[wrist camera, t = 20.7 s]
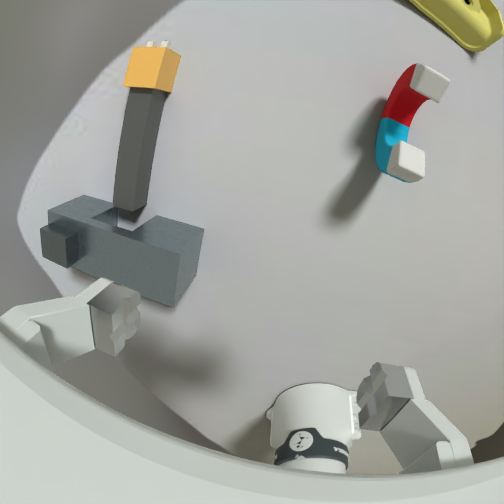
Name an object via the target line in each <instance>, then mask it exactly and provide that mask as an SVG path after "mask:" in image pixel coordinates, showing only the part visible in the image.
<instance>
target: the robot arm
mask: <svg viewBox="0 0 504 504" xmlns="http://www.w3.org/2000/svg"><path fill="white" fill-rule="evenodd" d="M140 303H141V295H140V294H139V292H137V291H135V290H132V289H130V288H128V287H125V286H123V285H121V284H118V283H116V282H114V281H111V280H109V279H107V278H99V279H98V280H97V281H95V282H94V283H93V284H91V285H90V286H89V287H87V288H86V289H85V290H84V291H82V292H81V293H80V294H78V295H77V296H76V297H72V296H69V297H63V298H58V299H53V300H47V301H42V302H36V303H31V304H25V305H20V306H15V307H13V308H12V309H10V310H9V311H8V312H6V313H5V314H4V315H2V316H1V317H0V504H504V457H501V458H497V459H494V460H490V461H486V462H482V463H478V464H474V462H473V458H472V455H471V451H470V448H469V445H468V442H467V439H466V438H465V437H464V435H463V434H462V433H461V432H460V431H459V430H458V429H457V428H456V427H455V426H454V425H453V424H452V423H451V422H450V421H449V420H448V419H447V418H446V417H445V416H444V415H443V414H442V413H441V412H440V411H439V410H438V409H437V408H436V407H435V406H434V405H433V404H432V403H431V402H430V401H428V400H425V397H424V394H423V391H422V388H421V385H420V382H419V379H418V377H417V374H416V371H415V370H414V369H413V368H411V367H404V366H395V365H390V364H384V363H379V362H376V363H375V364H374V365H373V366H372V368H371V369H370V376H368V377H366V378H364V379H363V381H362V382H361V384H360V385H359V388H358V391H348V390H345V389H342V388H340V387H338V386H334V385H330V384H323V383H312V384H304V385H299V386H296V387H293V388H290V389H288V390H286V391H285V392H283V393H282V394H281V395H280V396H279V397H278V398H277V399H276V402H275V404H274V406H273V407H272V408H270V409H269V410H268V411H267V412H266V417H267V418H268V419H269V420H270V421H271V436H270V445H271V446H272V447H273V448H274V449H275V450H276V452H275V457H274V465H272V464H267V463H262V462H258V461H253V460H249V459H245V458H240V457H237V456H233V455H229V454H225V453H222V452H218V451H215V450H211V449H209V448H205V447H202V446H199V445H196V444H193V443H190V442H188V441H185V440H182V439H179V438H177V437H174V436H171V435H169V434H166V433H164V432H161V431H159V430H156V429H154V428H152V427H149V426H147V425H145V424H142V423H140V422H138V421H136V420H134V419H131V418H130V417H128V416H126V415H124V414H121V413H120V412H117V411H116V410H114V409H112V408H110V407H108V406H106V405H104V404H102V403H100V402H99V401H97V400H95V399H93V398H92V397H90V396H88V395H86V394H85V393H83V392H81V391H80V390H78V389H76V388H75V387H73V386H72V385H70V384H69V383H67V382H65V381H64V380H62V379H61V378H59V377H58V376H57V375H55V372H54V370H53V367H52V366H54V365H57V364H59V363H62V362H64V361H66V360H69V359H72V358H74V357H76V356H79V355H82V354H84V353H86V352H89V351H91V350H93V349H95V348H96V349H98V350H100V351H103V352H105V353H107V354H109V355H111V356H113V357H115V358H116V356H117V355H118V354H119V353H120V351H121V350H122V349H123V348H124V347H125V340H127V339H130V338H132V337H133V336H134V334H135V333H136V331H137V329H138V326H139V323H140V312H139V310H138V308H137V306H138V305H139V304H140ZM361 429H366V430H374V431H381V432H380V433H381V435H382V436H383V438H384V439H385V441H386V442H387V444H388V446H389V447H390V449H391V450H392V452H393V453H394V455H395V457H396V458H397V460H398V461H399V463H400V464H401V466H402V468H403V470H402V471H400V472H399V473H398V474H346V469H347V468H348V463H349V451H350V450H351V449H352V440H358V439H361Z"/></svg>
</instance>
